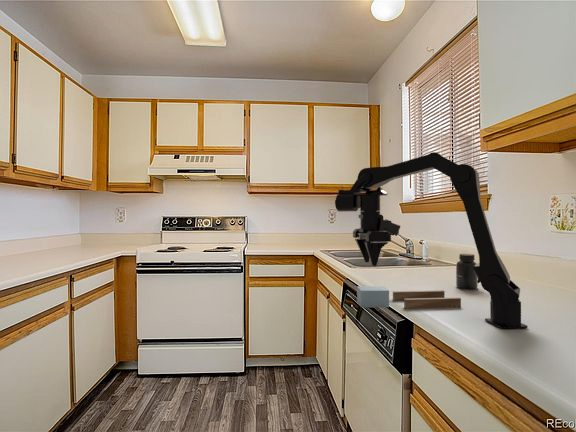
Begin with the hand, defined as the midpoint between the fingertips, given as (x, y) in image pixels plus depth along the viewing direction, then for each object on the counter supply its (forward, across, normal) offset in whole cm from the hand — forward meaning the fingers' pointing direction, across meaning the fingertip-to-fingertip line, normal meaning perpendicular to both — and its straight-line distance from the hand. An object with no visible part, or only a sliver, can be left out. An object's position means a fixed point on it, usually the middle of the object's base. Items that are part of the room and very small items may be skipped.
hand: (370, 263), depth 102 cm
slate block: (+12, 0, 0) cm, 12 cm away
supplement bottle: (+12, +19, -40) cm, 46 cm away
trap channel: (+12, 0, -16) cm, 20 cm away
